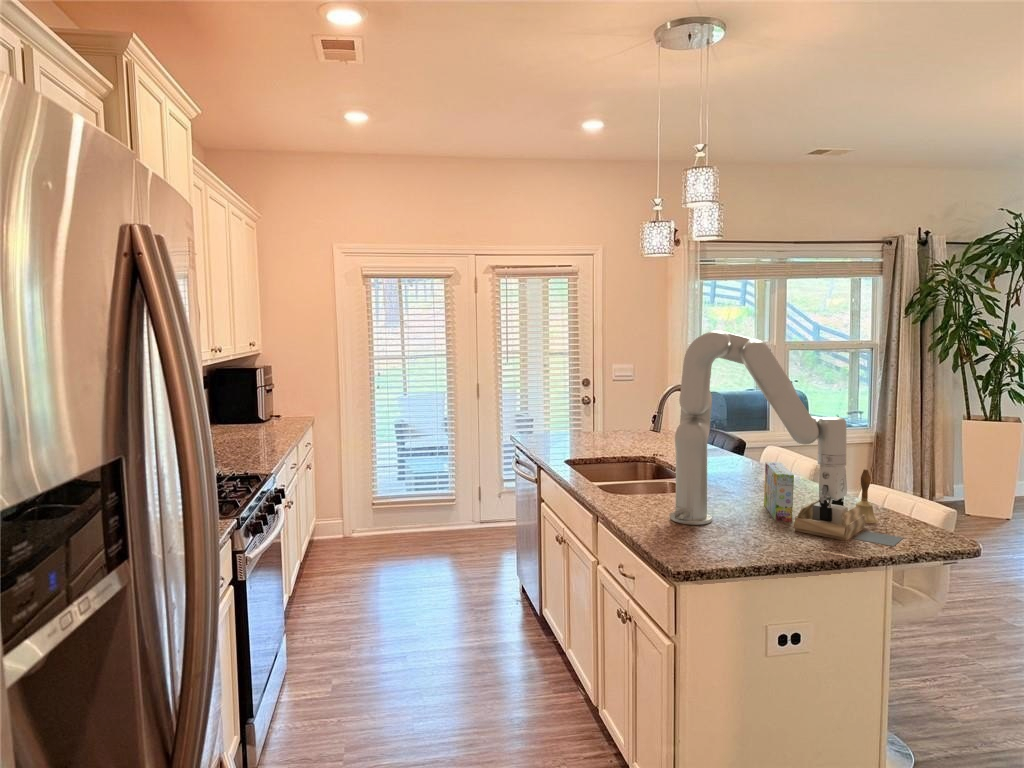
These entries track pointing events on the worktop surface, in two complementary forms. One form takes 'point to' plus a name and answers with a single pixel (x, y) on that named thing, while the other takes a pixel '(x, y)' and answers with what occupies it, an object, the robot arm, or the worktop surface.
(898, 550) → the worktop surface
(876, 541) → the slate mat
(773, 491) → the snack box
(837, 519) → the white box
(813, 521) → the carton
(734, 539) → the worktop surface
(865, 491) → the hand bell
